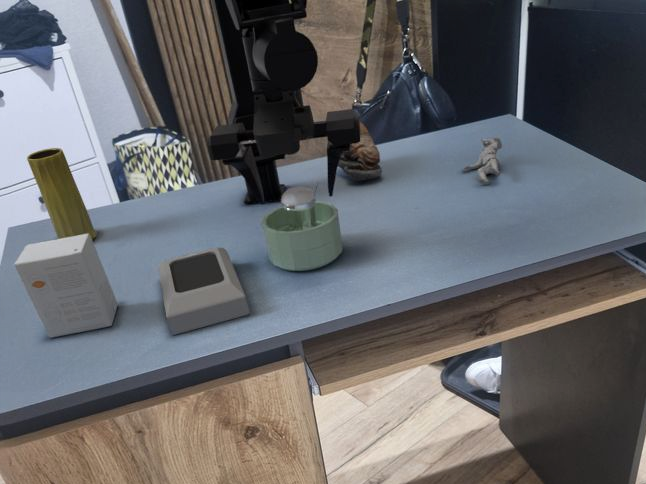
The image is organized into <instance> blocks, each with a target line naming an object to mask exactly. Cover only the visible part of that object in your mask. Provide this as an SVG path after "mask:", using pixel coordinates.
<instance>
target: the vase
mask: <svg viewBox="0 0 646 484" xmlns="http://www.w3.org/2000/svg"><path fill="white" fill-rule="evenodd" d="M26 161H27V163H28V165H29V167H30V170H31V172H32V175H33V177H34V180H35V182H36V185H37V186H38V189H39V193H40V195H41V198H42V200H43V203H44V206H45V209H46V211H47V214H48V216H49V218H50V221H51V223H52V226H53V229H54V232H55V234H56V237H57V239H61V238H67V237H72V236H77V235H83V234H88V233H89V234H90V236H91V239H92V241H94V240H95V239H96V237H97V236H98V233H97V231H96V229H95V228H94V224H93V223H92V220H91V217H90V214H89V212H88V209H87V206H86V205H85V202H84V200H83V197H82V195H81V192H80V190H79V188H78V186H77V183H76V180H75V178H74V175H73V173H72V170H71V168H70V165H69V162H68V160H67V158H66V155H65V153H64V151H63V149H62V148H60V147H51V148H45V149H41V150H37V151H35V152H31V153H30V154H28V155H27V157H26Z"/></svg>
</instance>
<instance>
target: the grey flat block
mask: <svg viewBox="0 0 646 484" xmlns="http://www.w3.org/2000/svg"><path fill="white" fill-rule="evenodd" d="M157 271H158V277H159V282H160V288H161V294H162V299H163V306H164V311H165V316H166V320H167V323H168V327H169V329H170V333H171V335H172V336H175V335H179V334H183V333H186V332H191V331H194V330H198V329H201V328H204V327H207V326H212V325H216V324H220V323H223V322H226V321H230V320H234V319H237V318H241V317H245V316H249V315H251V312H250V308H249V303H248V301H247V296H246V294H245V292H244V290H243V287H242V283H241V282H240V279H239V277H238V275H237V272H236V269H235V267H234V265H233V263H232V260H231V258H230V255H229V253H228V251H227V250H226V249H225V248H224V247H213V248H210V249H204V250H201V251H196V252H193V253H189V254H184V255H181V256H177V257H173V258H169V259H165V260H163V261H161V262H160V263H159V264H158V266H157Z"/></svg>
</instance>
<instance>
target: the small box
mask: <svg viewBox="0 0 646 484" xmlns="http://www.w3.org/2000/svg"><path fill="white" fill-rule="evenodd" d="M13 266H14V268H15V270H16V272H17V275H18V276H19V278H20V281H21V282H22V284H23V286H24V288H25V290H26V293H27V295H28V297H29V299H30V301H31V303H32V305H33V307H34V309H35V311H36V313H37V315H38V317H39V319H40V322H41V323H42V325H43V327H44V330H45V332H46V333H47V335H48V337H49V338H50V339H51V338H57V337H62V336H67V335H72V334H78V333H83V332H88V331H93V330H98V329H104V328H107V327H112V326H113V323H114V320H115V315H116V313H117V308H118V306H119V303H118V300H117V298H116V296H115V293H114V290H113V288H112V286H111V283H110V281H109V278H108V276H107V273H106V271H105V268H104V266H103V264H102V261H101V259H100V256H99V253H98V250H97V249H96V246H95V244H94V240H92V239H91V236H90V234H89V233H88V234H83V235H77V236H72V237H67V238H61V239H58V238H57V239H51V240H46V241H45V240H44V241H41V242H35V243H29V244H26V245H25V246H24V248H23V249H22V251H21V253H20V254H19V256H18V257H17V259H16V261H15V262H14V264H13Z"/></svg>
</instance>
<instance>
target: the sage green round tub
mask: <svg viewBox="0 0 646 484" xmlns="http://www.w3.org/2000/svg"><path fill="white" fill-rule="evenodd" d="M315 203H316V223H317V226H316V227H313V228H309V229H306V230H299V231H290V229H289V225H288V222H287V219H286V215H285V212H284V209H283V205H281V206H279V207H276V208H275V209H272V210H271V211H269V212H268V213H266V214H265V216H263V218H262V221H261V228H262V231H263V236H264V241H265V245H266V250H267V254H268V259H269V261H270V263H271V264H272V265H273V266H275V267H277V268H280V269H282V270H284V271H290V272H306V271H312V270H316V269H319V268H322V267H325V266H327V265H329V264H330V263H332V262H334V260H336V259H337V258H338V257H339V255H341V254H342V252H343V240H342V232H341V225H340V218H339V211H338V208H337V207H336V206H335V205H334V204H333V203H332V204H331V203H328V202H325V201H320V200H315Z"/></svg>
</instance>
